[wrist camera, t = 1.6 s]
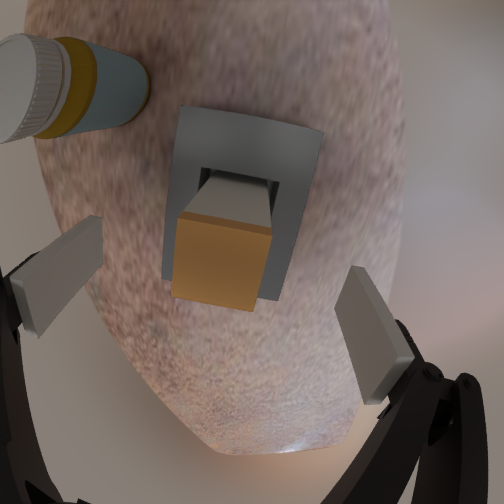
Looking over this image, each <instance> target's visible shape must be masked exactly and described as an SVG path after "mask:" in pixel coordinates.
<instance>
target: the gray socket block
mask: <svg viewBox="0 0 504 504" xmlns="http://www.w3.org/2000/svg"><path fill="white" fill-rule="evenodd" d="M323 135H324V132H321V131H317V130H314V129H310V128H306V127H302V126H298V125H294V124H289V123H285V122H281V121H276V120H271V119H267V118H262V117H257V116H251V115H246V114H240V113H235V112H229V111H222V110H215V109H208V108H201V107H193V106H184V105H181V106H180V112H179V118H178V123H177V130H176V136H175V143H174V149H173V156H172V164H171V172H170V180H169V188H168V198H167V207H166V218H165V230H164V243H163V259H162V279H165V280H169V281H172V275H173V261H174V249H175V238H176V228H177V218H178V217H179V216H180V214H181V213H182V212H183V210H184V209H185V208H186V207H187V205H188V204H189V203H190V201H191V200H192V199H193V198H194V196H195V195H196V194H197V193H198V191H199V190H200V189H201V188H202V187H203V185H204V184H205V183H206V182H207V180H208V179H209V178H210V177H211V176H212V174H213V173H214V172H215V171H216V170H222V171H227V172H233V173H238V174H243V175H248V176H253V177H258V178H263V179H267V185H268V195H269V205H270V215H271V226H272V240H271V244H270V248H269V252H268V256H267V260H266V264H265V268H264V272H263V276H262V280H261V284H260V288H259V292H258V295H257V298H262V299H268V300H274V301H278V299H279V296H280V293H281V289H282V286H283V283H284V279H285V276H286V273H287V269H288V266H289V262H290V259H291V256H292V252H293V249H294V245H295V242H296V238H297V235H298V231H299V227H300V224H301V220H302V216H303V213H304V209H305V205H306V202H307V198H308V194H309V190H310V187H311V183H312V179H313V175H314V171H315V167H316V163H317V159H318V155H319V151H320V147H321V143H322V139H323Z"/></svg>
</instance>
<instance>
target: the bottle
mask: <svg viewBox="0 0 504 504" xmlns="http://www.w3.org/2000/svg"><path fill="white" fill-rule="evenodd" d="M149 87H150V86H149V77H148V74H147V71H146V69H145V67H144V66H143V65H142V64H141V63H140V62H139V61H138V60H136V59H134V58H132V57H129V56H127V55H124V54H121V53H119V52H116V51H113V50H110V49H107V48H104V47H101V46H98V45H95V44H92V43H89V42H86V41H83V40H79V39H76V38H71V37H60V38H55V39H47V38H44V37H40V36H34V35H29V34H22V33H21V34H15V35H10V36H8V37H6V38H4V39H3V40H1V41H0V144H3V143H7V142H11V141H14V140H19V139H22V138H26V137H28V136H33V137H36V138H39V139H50V138H57V137H61V136H66V135H71V134H76V133H82V132H87V131H93V130H99V129H106V128H112V127H116V126H121V125H124V124H126V123H127V122H129V121H131V120H132V119H134V118H135V117H136V116H137V114H138V113H139V112H140V111H141V110H142V108H143V106H144V104H145V103H146V100H147V98H148V93H149Z"/></svg>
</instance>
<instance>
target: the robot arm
mask: <svg viewBox="0 0 504 504" xmlns="http://www.w3.org/2000/svg"><path fill="white" fill-rule="evenodd" d="M102 264H103V238H102V217H98V216H93V215H90V216H88V217H87V218H86V219H84V220H83V221H81V222H80V223H78V224H77V225H75V226H74V227H73V228H71V229H70V230H68V231H67V232H66V233H64V234H63V235H61V236H60V237H59V238H57V239H56V240H55V241H53V242H52V243H51V244H50V245H48V246H47V247H46V248H44V249H43V250H41V251H39V252H37V253H34V254H32V255H30V256H29V257H28V258H27V259H25V261H23V262H22V263H20V264H19V266H17V267H15V268H14V269H13V270H12V271H11V272H9V273H8V274H7V275H6V276H5V277H4V278H3V276H2V272H1V268H0V504H90V503H87V502H85V501H83V500H81V499H78V501H77V503H71V502H63V499H62V498H61V495H60V493H59V492H58V490H57V488H56V487H55V485H54V484H53V482H52V481H51V479H50V477H49V475H48V472H47V469H46V466H45V463H44V460H43V457H42V455H41V451H40V447H39V444H38V440H37V437H36V433H35V429H34V425H33V421H32V417H31V412H30V408H29V402H28V397H27V392H26V386H25V379H24V372H23V365H22V355H21V344H20V333H19V330H18V327H19V325H20V324H21V323H23V326H24V329H25V332H26V334H28V335H31V336H33V337H35V338H37V339H39V338H40V336H42V334H43V333H44V332H45V330H46V329H47V328H48V327H49V325H50V324H51V323H52V321H53V320H54V319H55V318H56V317H57V316H58V314H59V313H60V312H61V311H62V310H63V308H64V307H65V306H66V305H67V303H68V302H69V301H70V300H71V299H72V298H73V297H74V295H75V294H76V293H77V292H78V291H79V290H80V288H81V287H82V286H83V285H84V284H85V283H86V282H87V281H88V280H89V278H90V277H91V276H92V275H93V274H94V273H95V272H96V271H97V270H98V269H99V268H100V267H101V265H102ZM334 309H335V312H336V315H337V318H338V321H339V324H340V327H341V330H342V333H343V336H344V339H345V342H346V345H347V349H348V352H349V355H350V358H351V361H352V365H353V368H354V371H355V375H356V378H357V381H358V385H359V388H360V392H361V395H362V399H363V402H364V404H365V405H371V404H380V403H382V401H383V400H384V399H385V398H386V396H387V395H388V398H389V400H390V403H389V404H388V405H387V407H386V408H385V409H384V410H383V411H382V412H381V414H380V415H379V416H378V417H377V418H378V419H379V420H378V422H377V424H376V426H375V427H374V429H373V431H372V432H371V434H370V435H369V437H368V439H367V440H366V442H365V443H364V445H363V447H362V448H361V450H360V451H359V453H358V454H357V456H356V457H355V459H354V460H353V461H352V463H351V464H350V466H349V467H348V469H347V470H346V471H345V473H344V474H343V475H342V477H341V478H340V480H339V481H338V482H337V484H336V485H335V486H334V487H333V489H332V490H331V491H330V493H329V494H328V495H327V496H326V498H325V499H324V500H323V501H322V502H321V504H397V503H398V501H399V499H400V497H401V495H402V493H403V491H404V489H405V487H406V485H407V483H408V481H409V479H410V477H411V475H412V472H413V470H414V468H415V465H416V463H417V461H418V459H419V465H418V472H417V477H416V483H415V487H414V492H413V497H412V502H411V504H487V498H488V447H487V433H486V422H485V413H484V406H483V399H482V393H481V387H480V384H479V382H478V381H477V379H476V378H475V377H474V376H472V375H470V374H468V373H461V374H460V375H459V376H458V377H457V379H456V380H455V381H453V380H450V379H446V378H444V376H443V373H442V372H441V370H440V369H439V368H438V367H437V366H435V365H434V364H432V363H429V362H425V361H424V359H423V357H422V355H421V354H420V352H419V350H418V348H417V346H416V344H415V343H414V341H413V339H412V337H411V336H410V334H409V332H408V330H407V329H406V327H405V326H404V325H403V324H402V323H401V322H400V321H399V320H396V319H394V317H393V316H392V314H391V312H390V311H389V309H388V307H387V305H386V303H385V302H384V300H383V298H382V296H381V295H380V293H379V291H378V290H377V288H376V286H375V285H374V283H373V281H372V280H371V278H370V276H369V275H368V273H367V272H366V270H365V268H363V267H358V266H353V265H351V268H350V270H349V273H348V275H347V278H346V281H345V283H344V286H343V288H342V291H341V293H340V296H339V298H338V300H337V303H336V305H335V308H334ZM419 456H420V458H419Z"/></svg>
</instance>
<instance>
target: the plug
mask: <svg viewBox="0 0 504 504" xmlns="http://www.w3.org/2000/svg"><path fill="white" fill-rule="evenodd" d="M271 240H272V226H271V215H270V205H269V195H268V185H267V179H263V178H258V177H253V176H248V175H243V174H238V173H233V172H227V171H222V170H216V171H215V172H214V173H213V174H212V176H211V177H210V178H209V179H208V180H207V182H206V183H205V184H204V185H203V187H202V188H201V189H200V190H199V191H198V193H197V194H196V195H195V196H194V198H193V199H192V200H191V201H190V203H189V204H188V205H187V207H186V208H185V209H184V210H183V212H182V213H181V214H180V216H179V217H178V218H177V228H176V238H175V249H174V261H173V275H172V291H171V296H172V297H177V298H182V299H186V300H191V301H196V302H201V303H206V304H211V305H216V306H222V307H227V308H232V309H238V310H243V311H249V312H253V311H254V307H255V303H256V299H257V295H258V292H259V288H260V284H261V280H262V276H263V272H264V268H265V264H266V260H267V256H268V252H269V248H270V244H271Z"/></svg>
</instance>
